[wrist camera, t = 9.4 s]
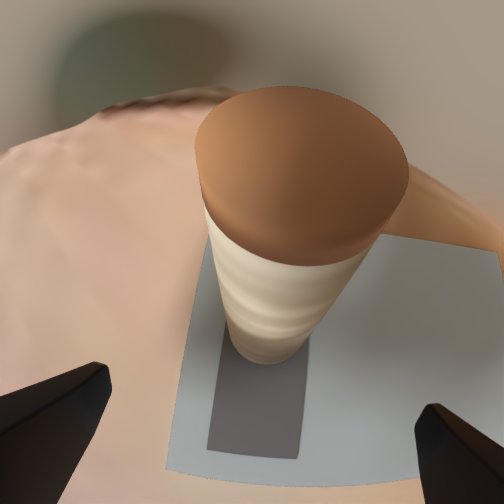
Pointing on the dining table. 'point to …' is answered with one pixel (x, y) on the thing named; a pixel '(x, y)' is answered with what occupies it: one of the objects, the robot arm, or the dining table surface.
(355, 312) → the board
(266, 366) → the strip
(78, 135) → the dining table surface
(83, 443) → the robot arm
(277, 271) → the birch peg
